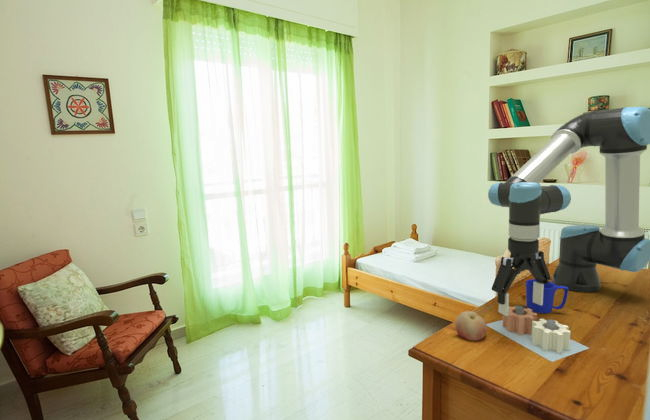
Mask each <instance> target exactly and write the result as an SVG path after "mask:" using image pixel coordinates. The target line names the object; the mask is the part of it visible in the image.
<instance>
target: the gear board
mask: <svg viewBox="0 0 650 420" xmlns="http://www.w3.org/2000/svg"><path fill="white" fill-rule="evenodd" d="M515 307H516V314H519V315H524V308H525V307H524V306H523V305H515ZM546 320H547V325H546V328H547V329H550V330H555V325H556V322H555V321H556V320H555V321H554V319H551V318H550V319H546ZM486 326H487V327H488V328H490V329H493V330H494V331H495V332H497V333H499V334H501V335H503V336H504V337H506V338H508V339H510V340H512V341H513V342H515V343H517V344H519V345H521V346H523V347H524V348H525V349H528V350H530V351H531V352H533V353H535V354H537V355H538V356H540V357H542V358H543V359H545V360H548V361H549V362H551V363H553V362H556V361H558V360H562V359H564V358H567V357H569V356H573V355H575V354H577V353H580V352H583V351H587V350H589V349H590V347H588V346H586V345H584V344H582V343H579V342H578V341H576V340H573V339H571V338H570V346H569V350H564V349H563V350H562V353H557V352H556V351H552V350H548V351H545V350H542V347H540V346H539V345H534V344H533V343H532V339H531V335H530V334H523V335H518V333H515V332H513V331H512V332H509V331H507V330H506V327H503V319H501V320H497V321H493V322H490V323H486Z"/></svg>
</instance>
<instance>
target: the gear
mask: <svg viewBox="0 0 650 420" xmlns="http://www.w3.org/2000/svg"><path fill="white" fill-rule="evenodd" d="M547 320H548V319H544V318H539V319H538V320H537V321H533V322H532V334H531V339H532V343H533V344H534V345H539V346H540V347H542V350H545V351H548V350H552V351H556V352H557V353H562V350H563V349H564V350H569V346H570V339H571V330H569V328H570V327H569V326H568V325H566V324H562V323H559V321H558V320H554V319H553V320H554V321H555V322H556V325H555V330H550V329H547V328H546V325H547Z"/></svg>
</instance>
